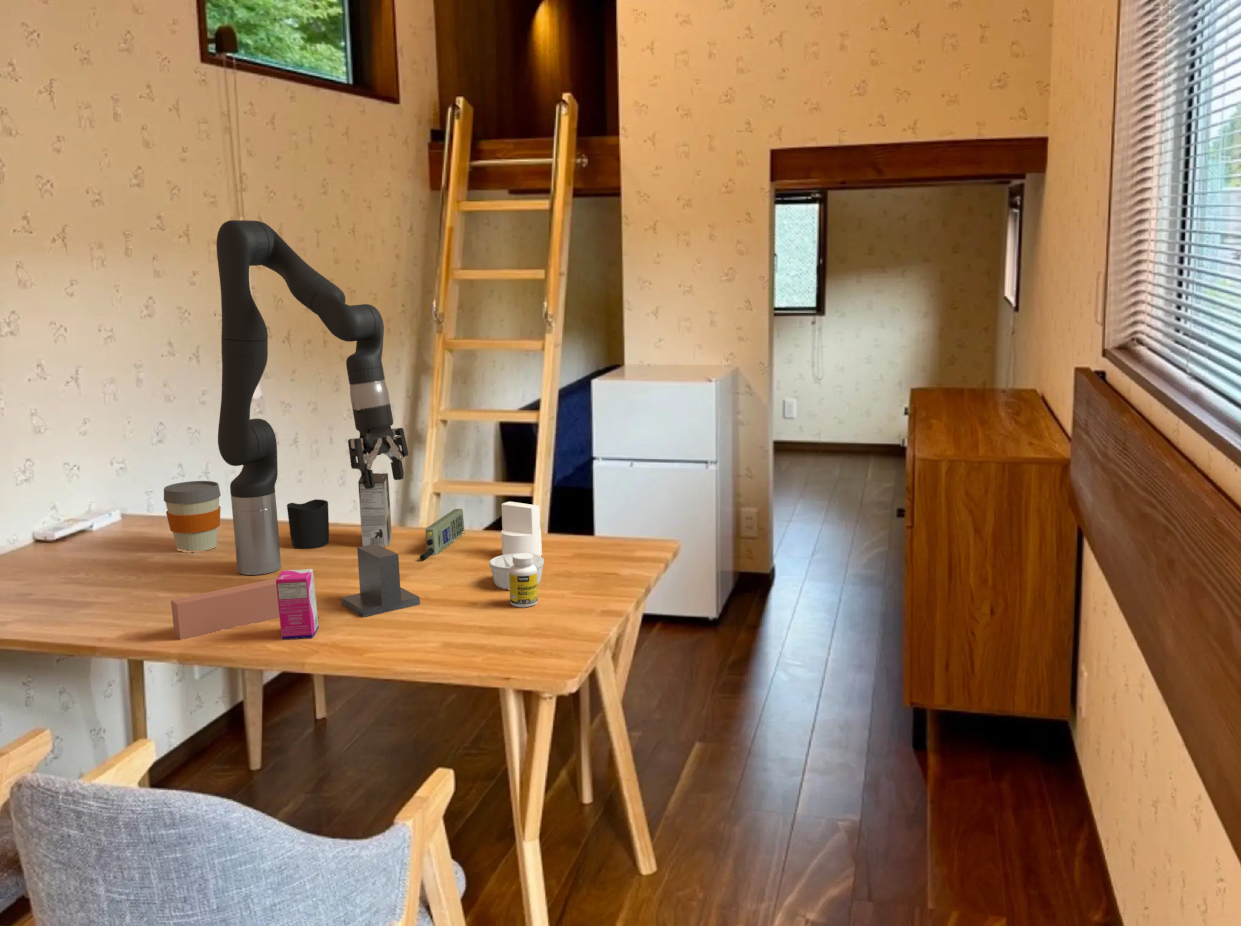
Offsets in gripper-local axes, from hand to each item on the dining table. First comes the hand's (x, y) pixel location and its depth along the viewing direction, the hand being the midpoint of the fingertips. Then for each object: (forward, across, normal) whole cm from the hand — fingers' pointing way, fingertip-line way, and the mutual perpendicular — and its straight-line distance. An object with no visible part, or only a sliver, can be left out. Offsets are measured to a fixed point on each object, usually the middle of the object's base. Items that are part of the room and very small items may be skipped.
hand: (384, 483), depth 223 cm
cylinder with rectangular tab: (+24, -32, +7) cm, 41 cm away
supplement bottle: (+26, -5, +27) cm, 38 cm away
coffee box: (+19, -27, -31) cm, 45 cm away
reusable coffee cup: (+14, -3, -66) cm, 68 cm away
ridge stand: (+23, +9, +2) cm, 24 cm away
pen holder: (+17, -18, -44) cm, 50 cm away
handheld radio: (+21, -30, -14) cm, 40 cm away
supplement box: (+22, +28, 0) cm, 36 cm away
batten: (+20, +29, -14) cm, 38 cm away
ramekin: (+25, -15, +18) cm, 34 cm away
